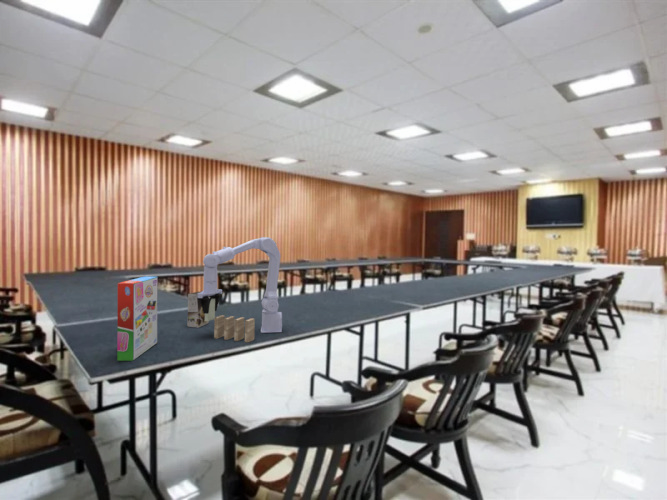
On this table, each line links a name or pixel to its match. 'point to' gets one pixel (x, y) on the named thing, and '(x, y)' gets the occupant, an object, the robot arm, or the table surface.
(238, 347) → the table surface
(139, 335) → the game box
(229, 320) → the domino
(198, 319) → the coffee box
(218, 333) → the domino
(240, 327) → the domino
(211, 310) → the domino
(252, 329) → the domino
